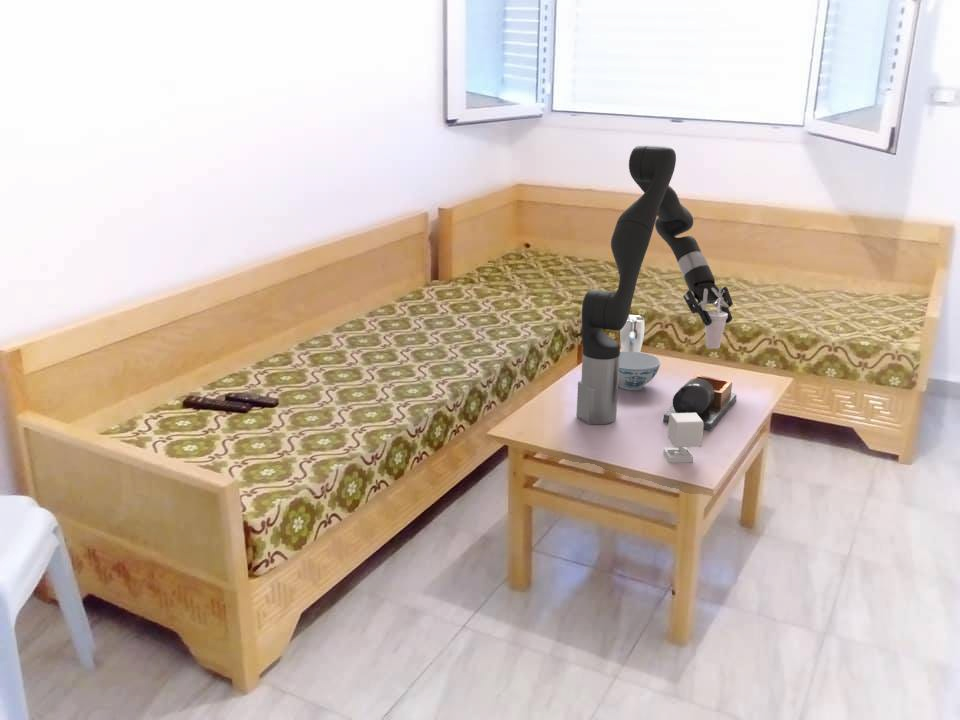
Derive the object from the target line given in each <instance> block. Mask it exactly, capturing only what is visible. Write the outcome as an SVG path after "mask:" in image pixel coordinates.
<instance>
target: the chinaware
mask: <svg viewBox="0 0 960 720" xmlns="http://www.w3.org/2000/svg"><path fill="white" fill-rule="evenodd" d="M660 366H661V360H660V358H659V357H657V356H655V355H653V354H649V353H645V352H641V351H640V352H622V351H620V361H619V377H618V387H619V388H621V389H623V390H627V391H639V390H642V389H643V388H644V386H645V385H647V384H648V383H649V382H651V381H652V380H653V379H654V378H655V377H656V375H657V374H658V372H659V369H660Z"/></svg>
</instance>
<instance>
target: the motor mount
mask: <svg viewBox="0 0 960 720" xmlns="http://www.w3.org/2000/svg"><path fill="white" fill-rule="evenodd" d="M732 389H733V381H732V380H726V379H720V378H715V377H711V376H710V377H709V376H703V375H699V374H695V375H694V376H692V377H691V378H690V380H688V381H687V382H686V383H685V384H684V385H683V386H682V387H680V389H678V391H676V393H675V394H674V395H673V398H672V406H671V407H670V408H669V409H667V411H665V412H664V413H663V423H668V424H669V414H670V413H697V414H698V416H699V417H700V418H701V419H702V421H703V423H704V426H703V431H706V432H711V431H712V430H713V429H714V427H716V425H717V424H718V423H719V421H721V419H722V418H723V417H724V416H725V414H726V413H727V412H728V410H729V409H731V407H732V406H733V404H735V402H736V401H737V393H735V392H732Z"/></svg>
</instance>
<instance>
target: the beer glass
mask: <svg viewBox="0 0 960 720" xmlns="http://www.w3.org/2000/svg"><path fill="white" fill-rule="evenodd" d="M619 336H620V337H619V338H620V350H621V352H641V350H642V346H643V342H644V339H645V337H644V336H645V318H644V317H643V315H635V314H629V316H628V319H627V322H626V324H625V325H624V327H623V328H622V329H621V330H619Z"/></svg>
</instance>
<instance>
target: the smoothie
mask: <svg viewBox="0 0 960 720" xmlns="http://www.w3.org/2000/svg"><path fill="white" fill-rule="evenodd" d="M720 300H721V298H719V299H717V302H718V308H716V310H715V309H714V310H713V309H712V310H706V311H707V312H708V314H709V316H710V318H711V321H712V323H711V324H710V325H709V326H706V325H705V324H704V326H705V327H704V328H705V329H704V331H705V332H704V333H705V347H706V348H707V349H711V350H712V349H713V350H718V349H720V347H721V343H722V340H723V334H724V330H725V327H726V324H727V323H726V319H727V318H728V314H727V313H726V312H723V311H720V305H721V303H720Z"/></svg>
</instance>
